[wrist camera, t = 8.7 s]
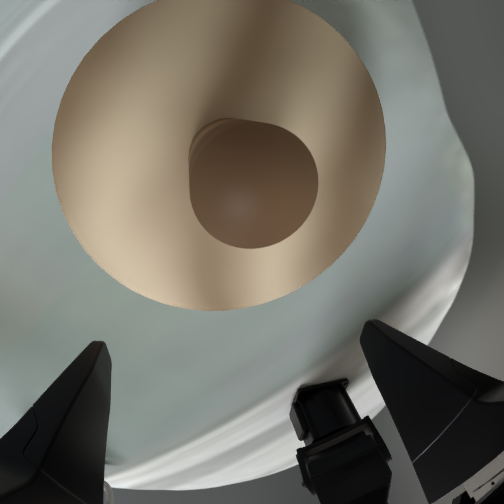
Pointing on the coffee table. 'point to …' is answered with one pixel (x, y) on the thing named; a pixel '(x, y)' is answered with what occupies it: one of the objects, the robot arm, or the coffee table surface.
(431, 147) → the coffee table surface
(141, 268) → the lid
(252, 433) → the coffee table surface
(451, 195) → the coffee table surface
